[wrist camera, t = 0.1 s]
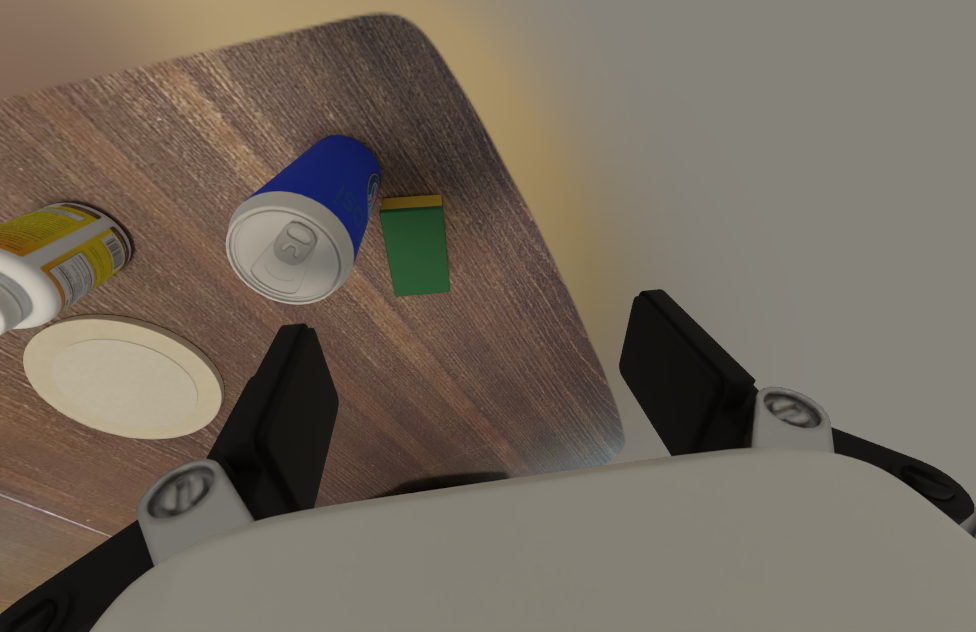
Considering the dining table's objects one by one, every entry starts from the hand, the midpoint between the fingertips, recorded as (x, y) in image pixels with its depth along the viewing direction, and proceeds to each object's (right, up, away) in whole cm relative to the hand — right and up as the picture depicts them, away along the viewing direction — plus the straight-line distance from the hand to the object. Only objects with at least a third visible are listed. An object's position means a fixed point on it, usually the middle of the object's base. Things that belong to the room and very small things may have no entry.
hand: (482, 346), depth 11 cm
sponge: (-6, +7, +21) cm, 23 cm away
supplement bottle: (-30, +7, +17) cm, 35 cm away
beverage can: (-10, +12, +17) cm, 23 cm away
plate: (-33, -5, +25) cm, 42 cm away
